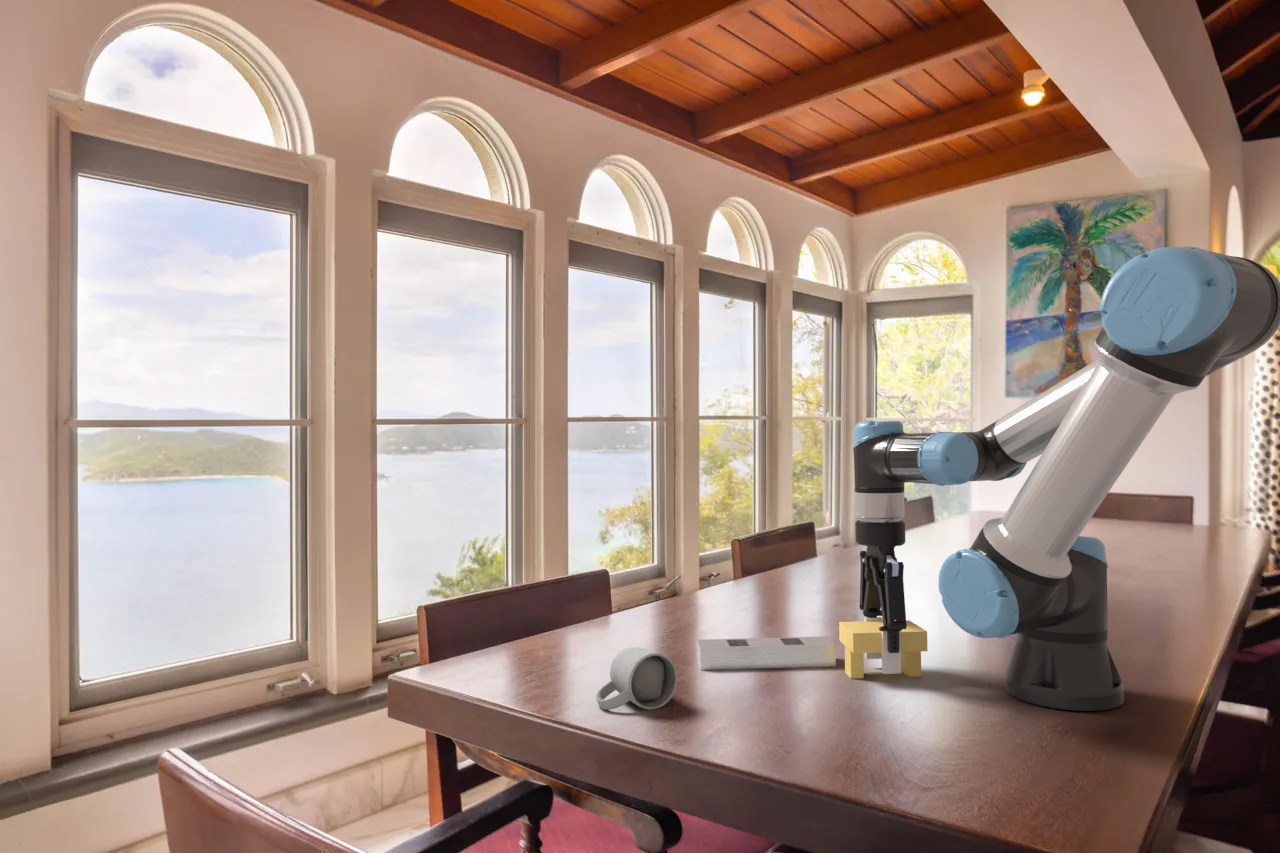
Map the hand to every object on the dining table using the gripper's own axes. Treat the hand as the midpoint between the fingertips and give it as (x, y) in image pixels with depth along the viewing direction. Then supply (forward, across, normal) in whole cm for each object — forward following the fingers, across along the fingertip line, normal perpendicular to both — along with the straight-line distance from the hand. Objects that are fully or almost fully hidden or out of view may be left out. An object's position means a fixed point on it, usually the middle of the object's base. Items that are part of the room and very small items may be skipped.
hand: (882, 665), depth 130 cm
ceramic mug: (+2, -10, +39) cm, 41 cm away
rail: (+1, +8, +17) cm, 19 cm away
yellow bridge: (+1, 0, 0) cm, 1 cm away
